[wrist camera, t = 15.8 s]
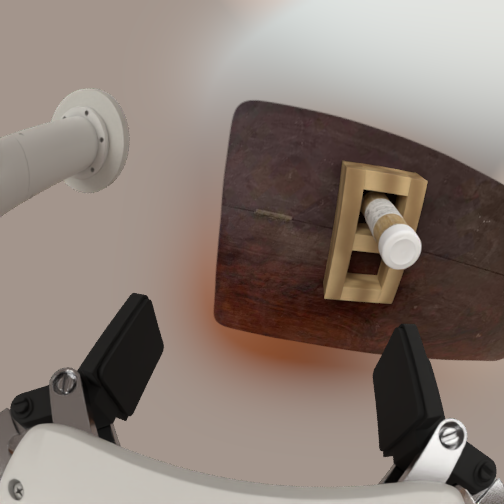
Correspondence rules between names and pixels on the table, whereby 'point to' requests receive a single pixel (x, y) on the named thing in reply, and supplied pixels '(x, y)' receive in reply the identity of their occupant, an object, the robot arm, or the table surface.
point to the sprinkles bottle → (390, 231)
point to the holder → (367, 231)
